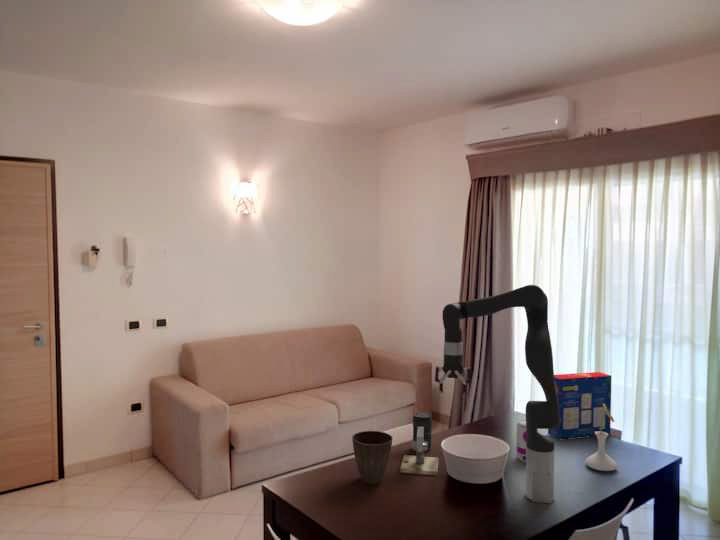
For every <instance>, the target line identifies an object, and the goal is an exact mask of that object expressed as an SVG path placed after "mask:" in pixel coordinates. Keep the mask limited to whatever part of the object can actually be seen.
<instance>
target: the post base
mask: <svg viewBox="0 0 720 540" xmlns="http://www.w3.org/2000/svg"><path fill="white" fill-rule="evenodd" d="M439 459H440V458H439V457H435V456H434V457H431V456H425V452H418V451H415V455H407V454H404V455H403V458H402V461H401V465H400V469H399V471H400V473H401V474H402V473H403V474H404V473H405V474H416V475H427V476H438V471H439V461H440V460H439Z"/></svg>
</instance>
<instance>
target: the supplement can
mask: <svg viewBox="0 0 720 540" xmlns="http://www.w3.org/2000/svg"><path fill="white" fill-rule="evenodd" d="M516 424H517V425H516V451H515V452H516V455H515V457H516V458H517V459H518V460H519V461H521V462H524V461H526V419H523V420H518V422H517V423H516ZM537 432H538V433H539V429H537Z"/></svg>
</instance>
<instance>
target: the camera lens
mask: <svg viewBox="0 0 720 540" xmlns="http://www.w3.org/2000/svg"><path fill="white" fill-rule="evenodd" d="M412 417H413V418H412V432H413V433H412V442H413V441H416V440H417V429H418V427H424V440H423V441H426V442H428V450H427V451H428V452H430V450H431V447H432V429H433V428H432V427H433V417H432V414H431V413H428V412H416V413H414V414H413V416H412ZM424 453H426V452H425V451H424Z"/></svg>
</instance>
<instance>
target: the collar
mask: <svg viewBox="0 0 720 540" xmlns="http://www.w3.org/2000/svg"><path fill="white" fill-rule="evenodd" d="M423 440H424V427H418V429H417V440H416V441H413V440H412V450H413V451H415V452H416V451H418V452H424V451H427V450H428V442H426V441H423ZM424 453H425V452H424Z"/></svg>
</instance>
